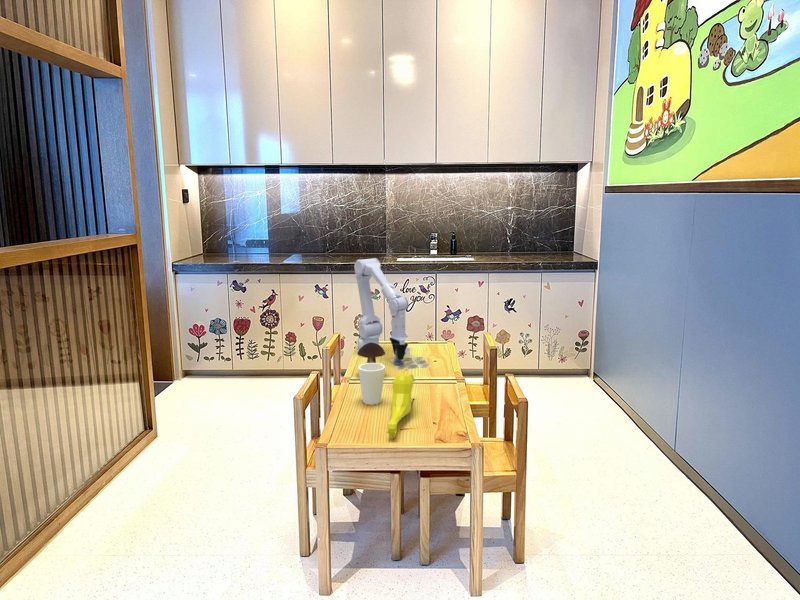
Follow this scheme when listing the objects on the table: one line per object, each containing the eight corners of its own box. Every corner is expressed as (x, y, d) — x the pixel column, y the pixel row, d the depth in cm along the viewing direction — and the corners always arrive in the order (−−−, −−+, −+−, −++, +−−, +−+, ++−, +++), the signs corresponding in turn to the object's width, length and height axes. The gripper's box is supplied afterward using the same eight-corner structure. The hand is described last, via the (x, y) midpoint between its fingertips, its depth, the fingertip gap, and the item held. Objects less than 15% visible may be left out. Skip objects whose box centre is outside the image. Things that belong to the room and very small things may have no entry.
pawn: (394, 365, 240) (394, 350, 238) (392, 362, 243) (392, 347, 242) (404, 364, 240) (404, 349, 239) (402, 362, 244) (402, 347, 243)
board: (396, 372, 234) (396, 369, 234) (389, 361, 249) (389, 359, 248) (431, 369, 238) (431, 367, 237) (422, 359, 252) (422, 356, 252)
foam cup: (358, 397, 207) (358, 363, 205) (384, 396, 208) (384, 362, 205) (358, 407, 198) (358, 371, 195) (385, 406, 198) (385, 370, 196)
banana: (398, 422, 206) (379, 440, 171) (400, 366, 207) (382, 373, 172) (417, 423, 205) (402, 441, 170) (419, 367, 206) (404, 374, 171)
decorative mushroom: (388, 381, 223) (388, 345, 220) (361, 384, 220) (360, 347, 217) (380, 373, 233) (380, 337, 230) (354, 375, 230) (354, 340, 227)
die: (398, 359, 253) (398, 348, 252) (396, 355, 257) (396, 345, 256) (409, 358, 254) (409, 347, 253) (407, 355, 259) (407, 344, 258)
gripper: (411, 329, 232) (411, 361, 235) (403, 321, 246) (403, 351, 249) (395, 330, 231) (395, 362, 234) (387, 322, 245) (388, 352, 247)
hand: (398, 356), depth 241 cm, fingers open, 7 cm apart
